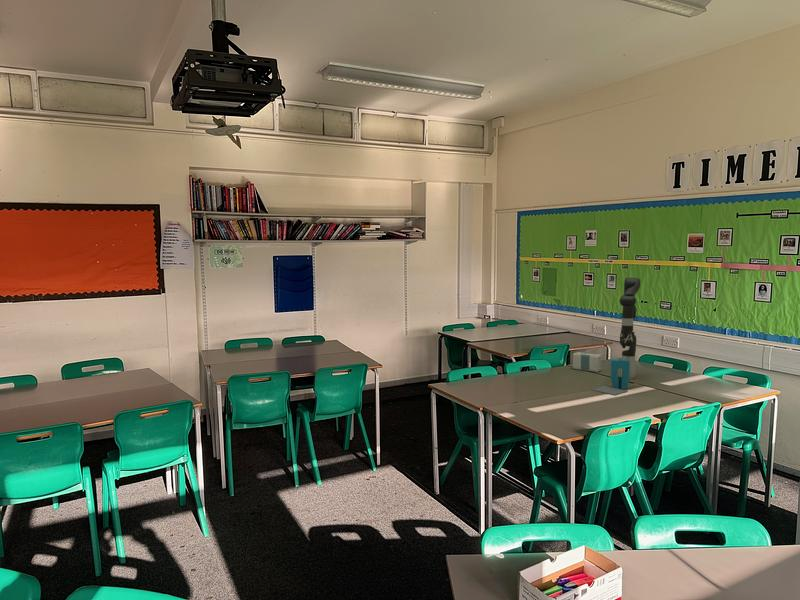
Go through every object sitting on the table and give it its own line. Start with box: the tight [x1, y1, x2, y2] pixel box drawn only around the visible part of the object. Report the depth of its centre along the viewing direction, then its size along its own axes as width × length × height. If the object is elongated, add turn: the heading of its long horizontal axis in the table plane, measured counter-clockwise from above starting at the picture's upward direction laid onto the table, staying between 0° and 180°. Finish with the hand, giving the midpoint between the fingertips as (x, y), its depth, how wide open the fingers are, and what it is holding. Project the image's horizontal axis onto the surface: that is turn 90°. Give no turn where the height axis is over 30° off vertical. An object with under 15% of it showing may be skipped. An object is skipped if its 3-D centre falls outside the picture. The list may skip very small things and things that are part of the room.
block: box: [610, 358, 630, 390], centre depth 387 cm, size 12×5×20 cm, turn 73°
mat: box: [591, 385, 629, 396], centre depth 381 cm, size 15×18×1 cm
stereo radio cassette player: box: [572, 346, 602, 373], centre depth 442 cm, size 21×8×20 cm, turn 50°
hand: (627, 347), depth 390 cm, fingers open, 7 cm apart
